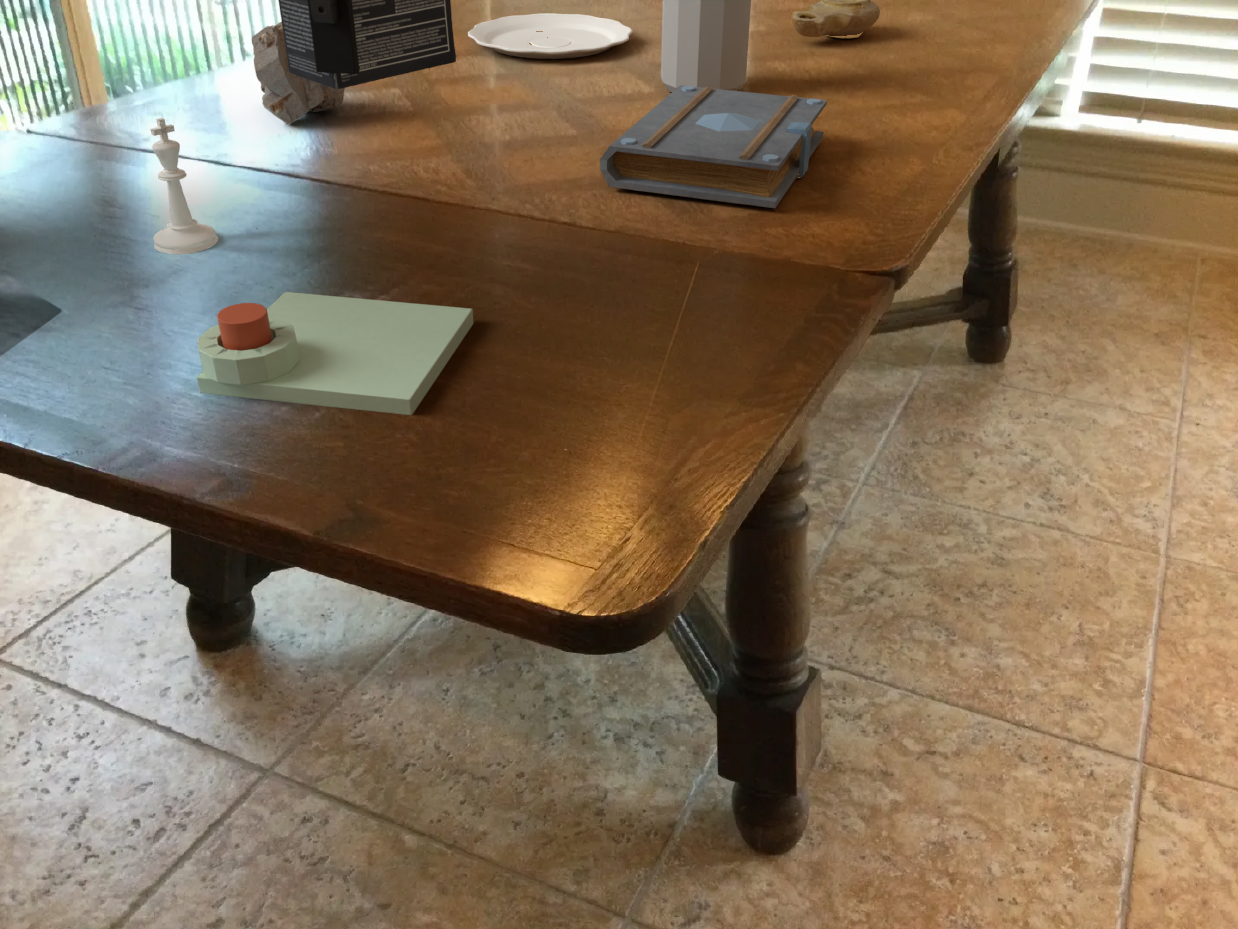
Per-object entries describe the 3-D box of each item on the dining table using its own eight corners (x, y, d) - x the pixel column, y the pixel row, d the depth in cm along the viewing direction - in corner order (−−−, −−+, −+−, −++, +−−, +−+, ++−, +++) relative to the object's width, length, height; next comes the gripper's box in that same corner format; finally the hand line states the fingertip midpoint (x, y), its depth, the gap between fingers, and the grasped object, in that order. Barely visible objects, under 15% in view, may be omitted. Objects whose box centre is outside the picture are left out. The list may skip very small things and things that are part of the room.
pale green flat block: (189, 396, 72) (180, 354, 71) (281, 306, 84) (275, 267, 82) (409, 419, 70) (404, 376, 69) (473, 323, 81) (471, 284, 80)
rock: (357, 133, 127) (329, 49, 127) (356, 86, 115) (325, -7, 116) (275, 153, 124) (247, 67, 125) (265, 106, 113) (234, 12, 114)
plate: (490, 23, 160) (490, 10, 159) (640, 29, 157) (640, 16, 156) (451, 60, 142) (450, 46, 141) (619, 68, 140) (619, 53, 139)
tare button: (214, 350, 72) (208, 321, 71) (236, 329, 74) (230, 300, 73) (259, 355, 72) (253, 325, 70) (280, 333, 74) (275, 304, 73)
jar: (725, 74, 138) (734, -92, 128) (759, 96, 130) (771, -79, 120) (648, 81, 135) (651, -88, 125) (677, 104, 127) (683, -75, 117)
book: (670, 124, 121) (671, 75, 118) (827, 142, 116) (832, 91, 113) (600, 190, 104) (599, 134, 101) (779, 213, 100) (784, 156, 97)
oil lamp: (785, 48, 149) (789, 7, 146) (802, 24, 160) (806, -15, 158) (869, 54, 146) (874, 12, 144) (880, 29, 158) (885, -10, 155)
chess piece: (142, 243, 93) (113, 119, 88) (197, 226, 96) (173, 105, 91) (173, 260, 90) (146, 132, 85) (229, 242, 93) (206, 118, 88)
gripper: (346, -318, 80) (378, 10, 92) (178, -329, 61) (246, 91, 72) (450, -317, 79) (469, 15, 91) (314, -328, 60) (360, 98, 71)
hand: (370, 49), depth 82 cm, fingers closed on small box, 12 cm apart
